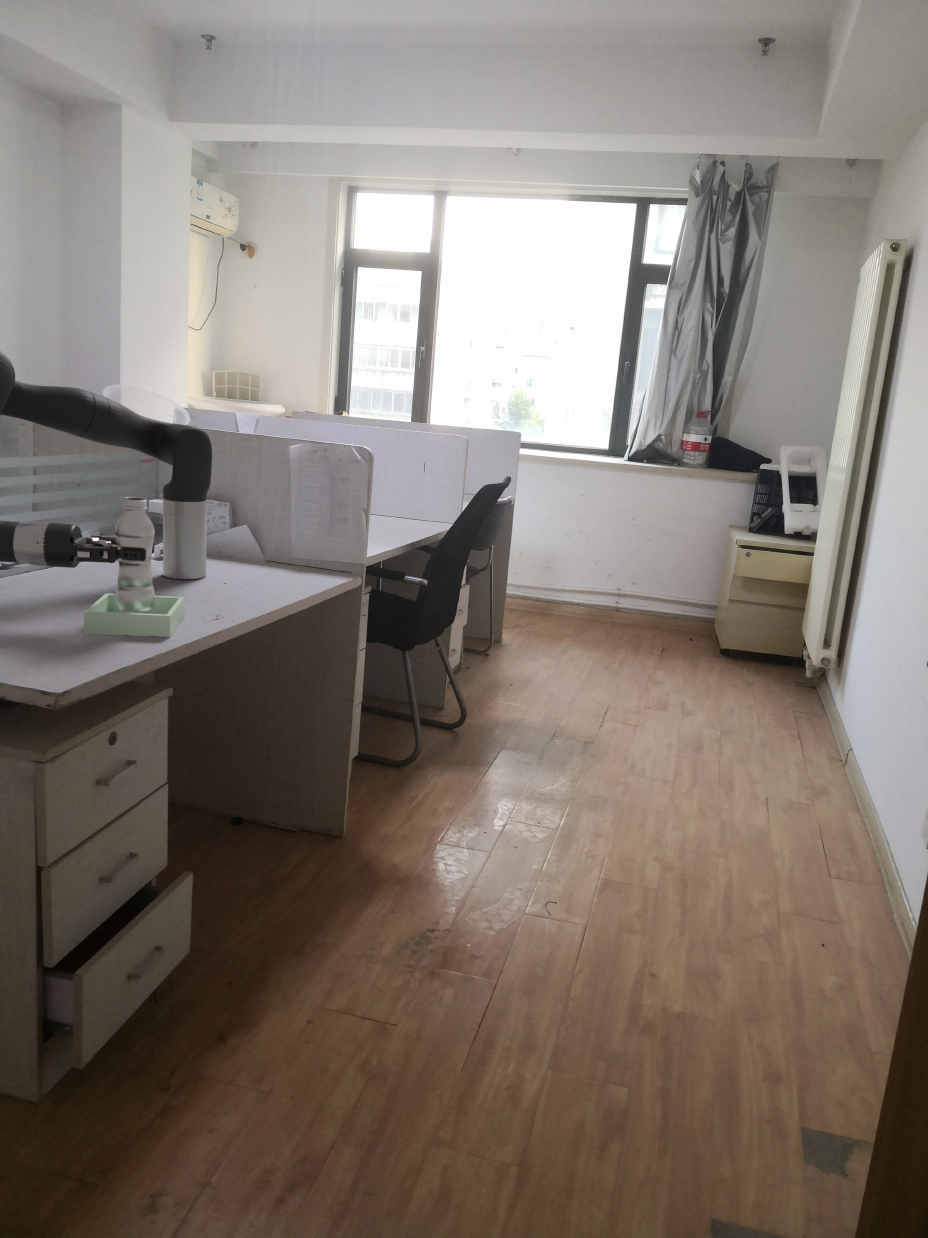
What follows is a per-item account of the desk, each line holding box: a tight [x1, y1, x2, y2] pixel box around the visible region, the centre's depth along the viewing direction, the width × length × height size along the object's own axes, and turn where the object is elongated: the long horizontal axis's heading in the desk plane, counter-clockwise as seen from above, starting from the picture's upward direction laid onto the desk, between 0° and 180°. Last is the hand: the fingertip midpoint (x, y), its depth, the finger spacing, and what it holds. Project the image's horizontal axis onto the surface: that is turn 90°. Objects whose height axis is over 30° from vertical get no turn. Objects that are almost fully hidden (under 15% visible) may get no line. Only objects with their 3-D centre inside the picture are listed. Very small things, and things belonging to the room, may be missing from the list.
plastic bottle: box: [114, 496, 156, 612], centre depth 152 cm, size 6×7×20 cm
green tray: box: [83, 592, 186, 638], centre depth 155 cm, size 14×14×4 cm
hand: (149, 551), depth 152 cm, fingers closed on plastic bottle, 6 cm apart
